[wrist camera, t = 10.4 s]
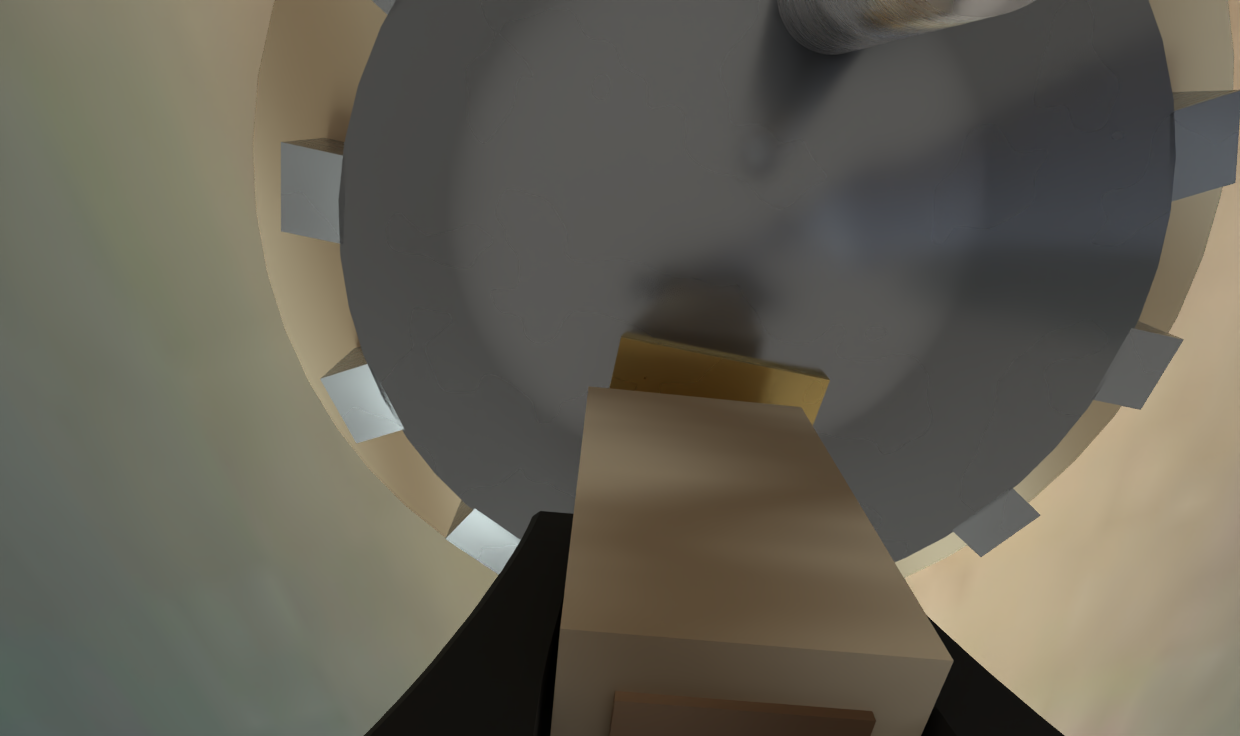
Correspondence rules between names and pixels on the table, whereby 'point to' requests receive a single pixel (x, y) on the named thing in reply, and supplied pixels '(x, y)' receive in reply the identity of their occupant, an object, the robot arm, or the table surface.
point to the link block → (730, 583)
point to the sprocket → (756, 235)
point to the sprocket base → (311, 268)
